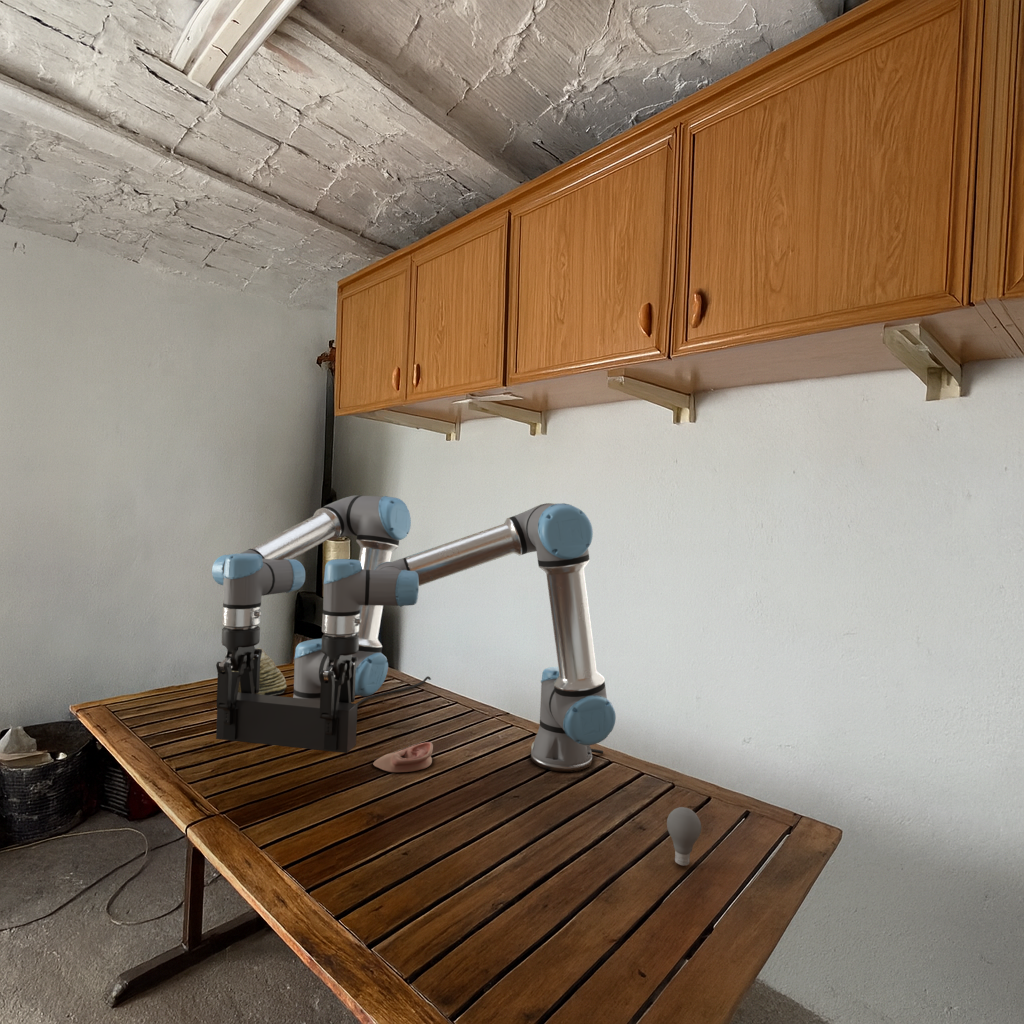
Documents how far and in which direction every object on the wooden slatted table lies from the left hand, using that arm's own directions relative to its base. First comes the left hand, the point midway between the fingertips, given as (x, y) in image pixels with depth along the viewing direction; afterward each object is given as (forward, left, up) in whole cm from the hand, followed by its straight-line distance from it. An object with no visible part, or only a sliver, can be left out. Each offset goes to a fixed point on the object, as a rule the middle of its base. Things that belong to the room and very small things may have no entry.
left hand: (237, 733), depth 136 cm
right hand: (-11, +19, 0) cm, 23 cm away
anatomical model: (-33, +16, -12) cm, 39 cm away
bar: (-6, +10, -1) cm, 11 cm away
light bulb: (-39, +84, -12) cm, 94 cm away
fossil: (-35, -55, -12) cm, 66 cm away
